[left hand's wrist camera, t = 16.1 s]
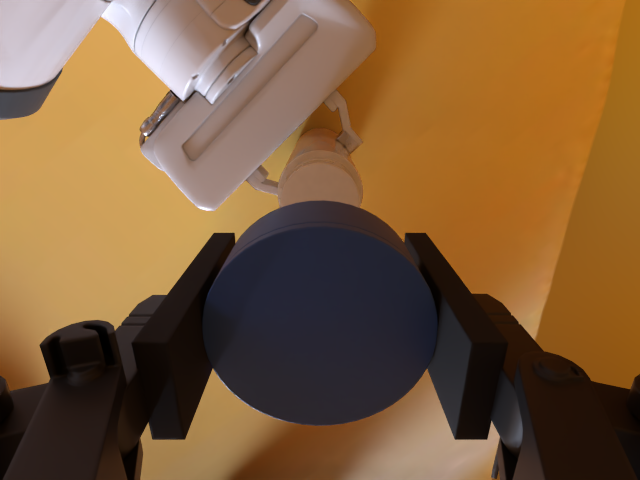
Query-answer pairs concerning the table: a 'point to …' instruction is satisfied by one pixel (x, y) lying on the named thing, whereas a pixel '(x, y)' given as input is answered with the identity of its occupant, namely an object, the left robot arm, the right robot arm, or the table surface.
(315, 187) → the jar
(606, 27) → the table surface
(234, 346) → the lid
